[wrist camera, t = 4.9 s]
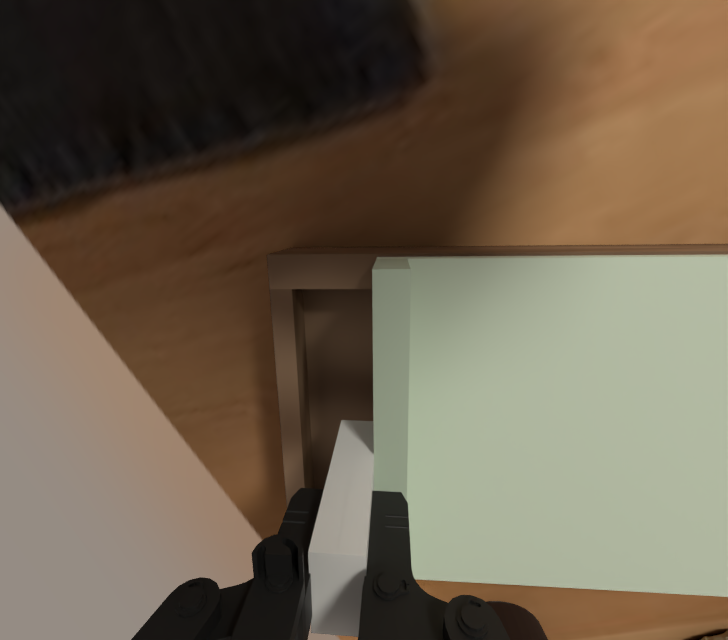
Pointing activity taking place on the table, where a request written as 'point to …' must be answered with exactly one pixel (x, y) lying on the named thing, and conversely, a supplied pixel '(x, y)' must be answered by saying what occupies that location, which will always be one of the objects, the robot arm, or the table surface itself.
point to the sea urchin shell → (717, 637)
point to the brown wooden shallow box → (355, 337)
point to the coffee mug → (518, 621)
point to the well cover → (557, 418)
